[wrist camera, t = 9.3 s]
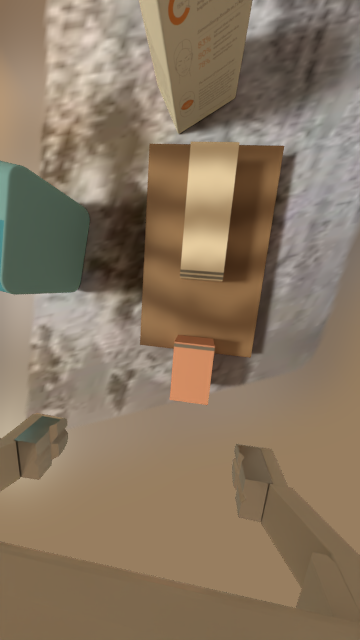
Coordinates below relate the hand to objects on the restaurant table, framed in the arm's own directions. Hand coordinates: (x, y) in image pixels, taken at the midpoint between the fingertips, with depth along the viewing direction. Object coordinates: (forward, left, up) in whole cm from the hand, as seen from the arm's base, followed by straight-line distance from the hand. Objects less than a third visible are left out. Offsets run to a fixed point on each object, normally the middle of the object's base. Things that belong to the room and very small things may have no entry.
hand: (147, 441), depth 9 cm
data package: (-11, -18, -21) cm, 30 cm away
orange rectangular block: (+4, +2, -19) cm, 19 cm away
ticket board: (-11, +2, -21) cm, 24 cm away
